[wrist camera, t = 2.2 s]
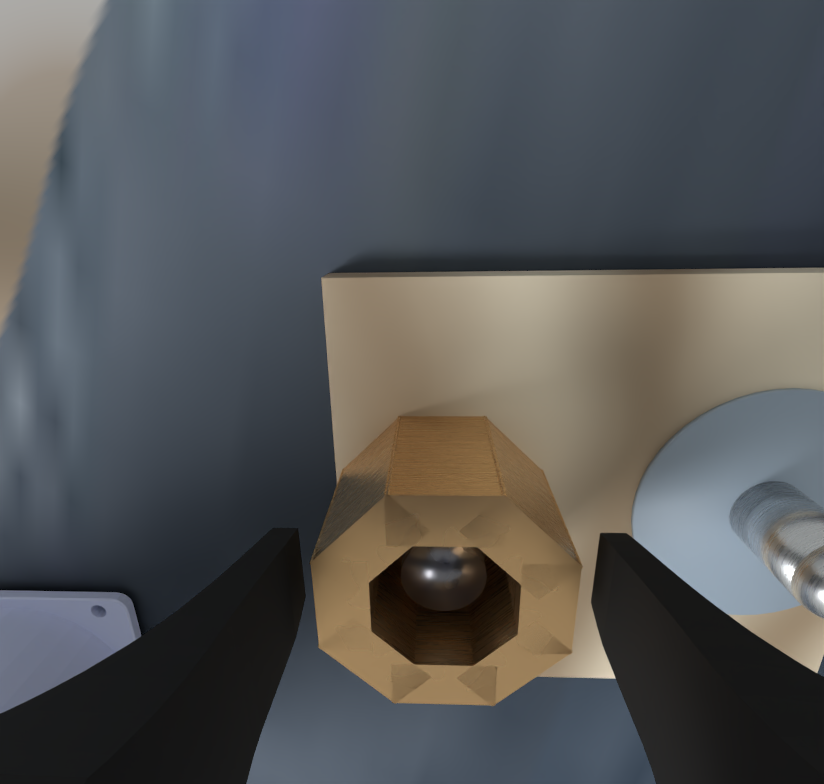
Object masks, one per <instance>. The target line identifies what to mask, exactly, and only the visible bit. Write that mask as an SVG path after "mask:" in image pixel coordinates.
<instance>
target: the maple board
mask: <svg viewBox="0 0 824 784" xmlns="http://www.w3.org/2000/svg"><path fill="white" fill-rule="evenodd" d="M321 280H322V293H323V306H324V320H325V333H326V346H327V359H328V372H329V386H330V399H331V412H332V425H333V438H334V452H335V465H336V478H337V483H338V480H339V477H340V474H341V472H342V469H343V468H345V467H346V466H347V465H348V464H349V463H350V462H351V461H352V460H353V459H355V458H356V457H357V456H358V455H359V454H360V453H361V452H362V451H363V450H364V449H365V448H366V447H367V446H368V445H369V444H370V443H371V442H372V441H374V440H375V439H376V438H377V437H378V436H379V435H380V434H381V433H382V432H383V431H384V430H385V429H386V428H387V427H388V426H389V425H390V424H391V423H393V422H394V421H395V420H396V419H397V418H398V416H400V415H401V416H484V415H485V416H487V418H488V419H489V420H490V421H491V422H492V423H493V424H494V425H495V426H496V427H497V428H498V429H499V430H500V431H501V432H502V433H503V434H505V435H506V436H507V437H508V438H509V439H510V440H511V441H512V442H513V443H514V444H515V445H516V446H517V447H518V448H519V449H520V450H521V451H522V452H523V453H524V454H526V455H527V456H528V457H529V458H530V459H531V460H532V461H533V462H534V463H535V464H536V465H537V466H538V467H539V468H540V469H543V471H544V474H545V476H546V479H547V481H548V483H549V486H550V488H551V491H552V493H553V496H554V498H555V500H556V503H557V505H558V508H559V510H560V512H561V515H562V517H563V520H564V522H565V525H566V527H567V529H568V532H569V534H570V537H571V539H572V541H573V544H574V546H575V549H576V551H577V554H578V556H579V558H580V561H581V563H582V566H583V568H582V571H581V579H580V587H579V595H578V604H577V612H576V620H575V628H574V637H573V645H572V651H573V652H572V653H571V654H569V655H568V656H566V657H565V658H564V659H562V660H561V661H559V662H558V663H556V664H555V665H553V666H552V667H550V668H549V669H547V670H546V671H544V672H543V673H541V674H540V675H538V676H537V677H575V678H615V675H614V673H613V670H612V668H611V665H610V663H609V660H608V658H607V655H606V653H605V650H604V648H603V645H602V642H601V638H600V635H599V631H598V628H597V624H596V620H595V617H594V613H593V609H592V605H591V597H592V589H593V582H594V574H595V567H596V559H597V552H598V544H599V537H600V533H627V534H628V535H630V536H631V537H632V527H631V516H632V506H633V502H634V497H635V493H636V490H637V488H638V485H639V483H640V480H641V478H642V476H643V474H644V473H645V471H646V469H647V467H648V465H649V464H650V462H651V461H652V460H653V458H654V457H655V455H656V454H657V453H658V451H659V450H660V449H661V448H662V447H663V446H664V445H665V444H666V443H667V441H668V440H669V439H670V438H671V437H672V436H674V435H675V434H676V433H677V432H678V431H679V430H681V429H682V428H683V427H684V426H685V425H687V424H688V423H690V422H691V421H692V420H694V419H695V418H697V417H698V416H700V415H701V414H703V413H705V412H707V411H709V410H711V409H712V408H714V407H716V406H718V405H720V404H723V403H725V402H728V401H730V400H733V399H735V398H738V397H741V396H745V395H748V394H752V393H755V392H761V391H767V390H772V389H785V388H802V389H814V390H820V391H824V268H741V269H650V270H559V271H468V272H377V273H328V274H327V275H325V276H324V277H322V278H321ZM632 538H633V537H632ZM727 615H729V616H730V617H732V618H733V619H734V620H736V621H737V622H738V623H740V624H741V625H742V626H744V627H745V628H747V629H748V630H750V631H751V632H753V633H754V634H756V635H757V636H758V637H760V638H761V639H763V640H765V641H766V642H768V643H769V644H771V645H772V646H774V647H775V648H777V649H778V650H780V651H782V652H783V653H785V654H786V655H788V656H789V657H791V658H792V659H794V660H796V661H797V662H799V663H801V664H802V665H804V666H806V667H807V668H809V669H811V670H812V671H814V672H816V673H817V672H818V669H819V666H820V664H821V661H822V658H823V655H824V619H823V618H820V617H818V616H816V615H815V614H813V613H811V612H810V611H808V610H807V609H806V608H804V607H803V606H802V605H800V606H797V607H793V608H790V609H786V610H782V611H777V612H773V613H765V614H758V615H731V614H727ZM351 672H352V671H351Z"/></svg>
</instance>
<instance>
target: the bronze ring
mask: <svg viewBox="0 0 824 784" xmlns="http://www.w3.org/2000/svg"><path fill="white" fill-rule="evenodd" d="M412 546H425V547H478V548H479V549H480V550H481V551H483V552H484V559H485V566H486V574H487V579H486V584H485V587H484V589H483V591H482V593H481V594H480V596H479V597H478V598H477V599H476V600H475V601H474V602H472V603H471V604H469V605H467V606H465V607H463V608H460V609H456V610H451V611H437V610H432V609H428V608H426V607H423V606H421V605H419V604H418V603H416V602H415V601H413V600H412V599H411V598H410V597H409V596H408V594H407V593H406V592H405V590H404V588H403V586H402V582H401V565H402V555H403V554H404V553H405V552H406V551H407V550H408V549H410V548H411V547H412ZM309 564H310V565H311V572H312V582H313V592H314V602H315V611H316V621H317V631H318V641H319V644H318V647H319V649H322V650H323V651H324V652H326V653H327V654H328V655H330V656H331V657H333V658H334V659H335V660H337V661H338V662H339V663H341V664H342V665H343V666H345V667H346V668H347V669H349V670H350V671H352V672H353V673H354V674H356V675H357V676H358V677H360V678H361V679H362V680H364V681H365V682H366V683H368V684H369V685H371V686H372V687H373V688H375V689H376V690H377V691H379V692H380V693H381V694H383V695H384V696H385V697H387V698H388V699H390V700H391V701H392V703H395V704H396V703H422V704H460V705H491V706H493V705H495V704H496V703H498V702H499V701H501V700H502V699H504V698H505V697H507V696H508V695H510V694H511V693H513V692H514V691H516V690H517V689H519V688H520V687H522V686H523V685H525V684H526V683H528V682H529V681H531V680H532V679H534V678H535V677H537V676H538V675H540V674H541V673H543V672H544V671H546V670H547V669H549V668H550V667H552V666H553V665H555V664H556V663H558V662H559V661H561V660H562V659H564V658H565V657H566V656H568V655H569V654H571V653H572V652H573V651H572V645H573V637H574V628H575V620H576V612H577V604H578V595H579V587H580V579H581V571H582V568H583V566H582V563H581V561H580V558H579V556H578V554H577V551H576V549H575V546H574V544H573V541H572V539H571V537H570V534H569V532H568V529H567V527H566V525H565V522H564V520H563V517H562V515H561V512H560V510H559V508H558V505H557V503H556V500H555V498H554V496H553V493H552V491H551V488H550V486H549V483H548V481H547V479H546V476H545V474H544V471H543V469H540V468H539V467H538V466H537V465H536V464H535V463H534V462H533V461H532V460H531V459H530V458H529V457H528V456H527V455H526V454H524V453H523V452H522V451H521V450H520V449H519V448H518V447H517V446H516V445H515V444H514V443H513V442H512V441H511V440H510V439H509V438H508V437H507V436H506V435H505V434H503V433H502V432H501V431H500V430H499V429H498V428H497V427H496V426H495V425H494V424H493V423H492V422H491V421H490V420H489V419H488V418H487V416H485V415H484V416H401V415H400V416H398V418H397V419H396V420H395V421H394V422H393V423H391V424H390V425H389V426H388V427H387V428H386V429H385V430H384V431H383V432H382V433H381V434H380V435H379V436H378V437H377V438H376V439H375V440H374V441H372V442H371V443H370V444H369V445H368V446H367V447H366V448H365V449H364V450H363V451H362V452H361V453H360V454H359V455H358V456H357V457H356V458H355V459H353V460H352V461H351V462H350V463H349V464H348V465H347V466H346V467H345V468H343V469H342V472H341V474H340V477H339V480H338V483H337V486H336V489H335V492H334V494H333V497H332V500H331V503H330V506H329V509H328V512H327V514H326V517H325V520H324V523H323V526H322V529H321V532H320V534H319V537H318V540H317V543H316V546H315V549H314V552H313V554H312V557H311V560H310V563H309Z"/></svg>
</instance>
